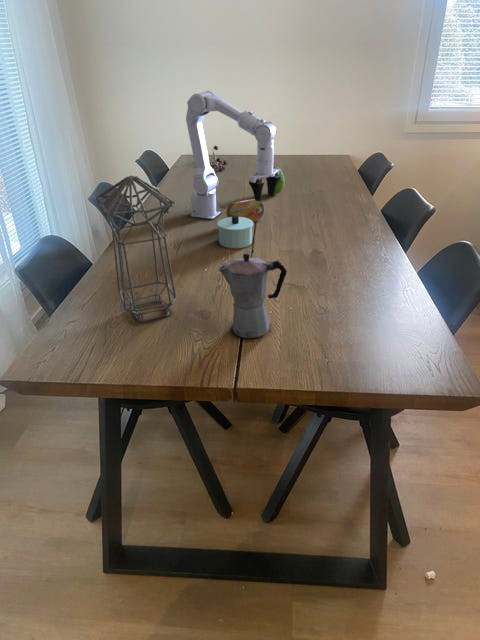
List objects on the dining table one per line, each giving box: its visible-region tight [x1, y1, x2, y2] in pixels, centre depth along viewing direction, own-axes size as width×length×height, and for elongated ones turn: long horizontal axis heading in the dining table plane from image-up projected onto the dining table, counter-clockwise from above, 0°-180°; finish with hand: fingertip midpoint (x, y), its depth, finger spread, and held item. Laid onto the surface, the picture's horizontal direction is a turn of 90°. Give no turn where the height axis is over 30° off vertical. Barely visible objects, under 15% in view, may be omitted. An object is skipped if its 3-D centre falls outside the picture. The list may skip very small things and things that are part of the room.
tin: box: [226, 198, 265, 223], centre depth 172 cm, size 15×3×8 cm, turn 117°
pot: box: [218, 226, 253, 249], centre depth 156 cm, size 11×11×6 cm
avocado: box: [266, 165, 286, 195], centre depth 200 cm, size 8×8×12 cm
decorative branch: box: [211, 145, 228, 173], centre depth 245 cm, size 11×9×30 cm
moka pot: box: [218, 253, 287, 339], centre depth 106 cm, size 10×15×20 cm, turn 95°
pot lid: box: [217, 215, 254, 231], centre depth 154 cm, size 12×12×3 cm
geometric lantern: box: [95, 175, 177, 323], centre depth 110 cm, size 16×16×35 cm
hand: (264, 198), depth 167 cm, fingers open, 7 cm apart
